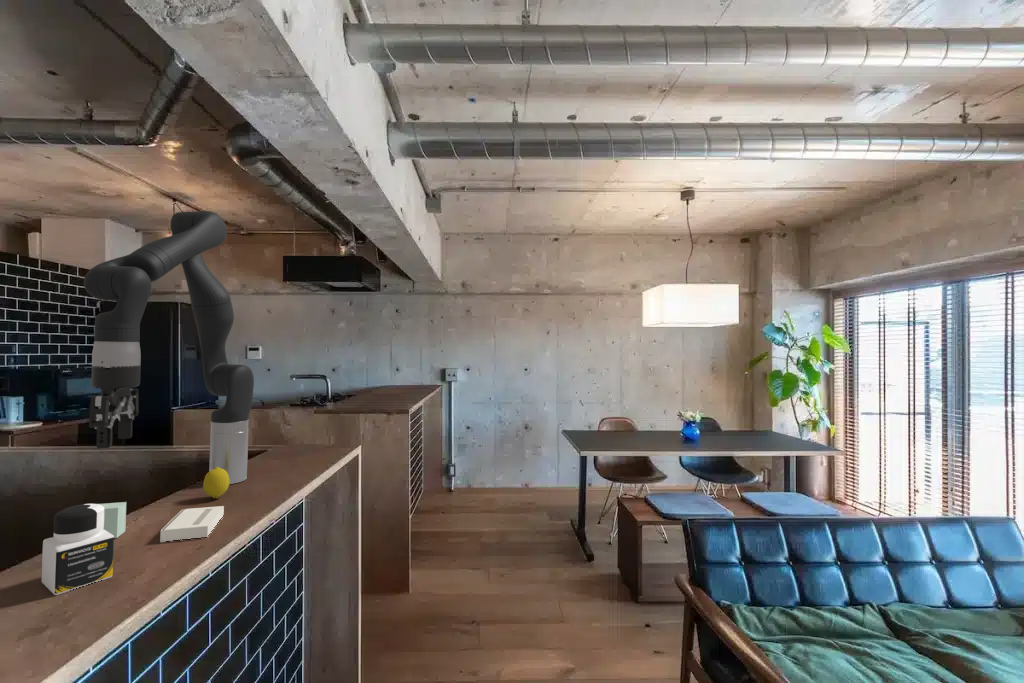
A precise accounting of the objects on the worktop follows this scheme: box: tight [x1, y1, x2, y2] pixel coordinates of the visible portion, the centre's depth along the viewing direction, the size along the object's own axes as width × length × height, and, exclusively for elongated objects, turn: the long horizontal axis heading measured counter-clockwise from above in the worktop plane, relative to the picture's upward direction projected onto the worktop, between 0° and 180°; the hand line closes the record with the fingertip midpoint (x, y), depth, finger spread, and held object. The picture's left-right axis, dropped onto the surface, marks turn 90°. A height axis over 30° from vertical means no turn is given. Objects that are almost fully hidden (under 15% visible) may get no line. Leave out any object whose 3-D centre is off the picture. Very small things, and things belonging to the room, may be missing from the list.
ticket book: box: [159, 505, 225, 543], centre depth 97 cm, size 12×8×2 cm, turn 19°
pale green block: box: [98, 501, 127, 539], centre depth 92 cm, size 4×5×6 cm
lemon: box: [202, 467, 230, 499], centre depth 115 cm, size 6×6×8 cm
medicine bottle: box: [41, 503, 115, 596], centre depth 75 cm, size 7×7×12 cm
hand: (115, 442), depth 93 cm, fingers open, 8 cm apart
